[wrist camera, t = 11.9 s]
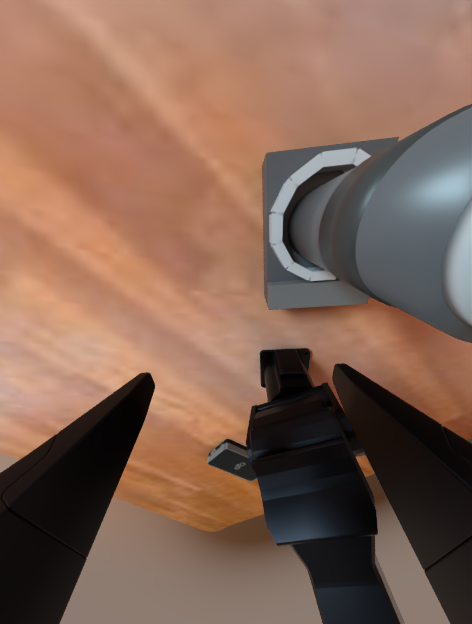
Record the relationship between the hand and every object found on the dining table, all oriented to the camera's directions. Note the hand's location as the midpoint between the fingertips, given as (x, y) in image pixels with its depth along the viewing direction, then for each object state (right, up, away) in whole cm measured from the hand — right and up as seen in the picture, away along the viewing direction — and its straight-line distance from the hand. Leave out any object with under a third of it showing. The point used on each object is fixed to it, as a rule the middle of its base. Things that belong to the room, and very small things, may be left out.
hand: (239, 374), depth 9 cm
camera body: (+7, +11, +9) cm, 16 cm away
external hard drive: (+1, -26, +27) cm, 37 cm away
